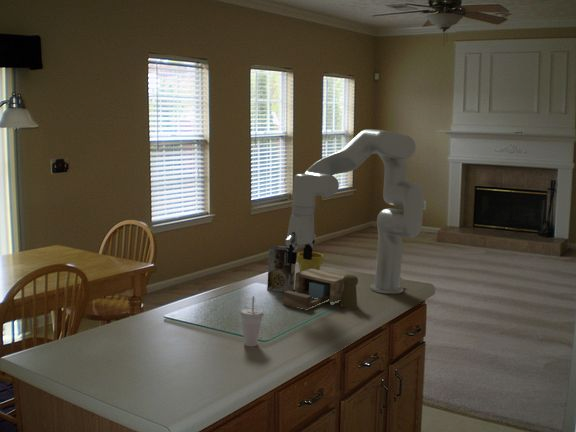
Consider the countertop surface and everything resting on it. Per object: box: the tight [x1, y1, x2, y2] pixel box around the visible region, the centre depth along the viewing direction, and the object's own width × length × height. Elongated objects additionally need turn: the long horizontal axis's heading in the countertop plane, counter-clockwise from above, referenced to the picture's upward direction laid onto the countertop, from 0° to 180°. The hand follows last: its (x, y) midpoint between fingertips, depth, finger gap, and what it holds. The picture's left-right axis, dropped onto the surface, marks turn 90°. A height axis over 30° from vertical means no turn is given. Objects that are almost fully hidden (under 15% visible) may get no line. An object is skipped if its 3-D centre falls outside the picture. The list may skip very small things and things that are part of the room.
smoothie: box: [240, 296, 264, 347], centre depth 184 cm, size 6×6×14 cm
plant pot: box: [296, 251, 324, 272], centre depth 264 cm, size 10×10×10 cm
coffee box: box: [266, 244, 296, 293], centre depth 243 cm, size 9×6×16 cm
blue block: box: [309, 280, 331, 299], centre depth 236 cm, size 6×6×6 cm
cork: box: [339, 274, 359, 310], centre depth 227 cm, size 6×6×11 cm
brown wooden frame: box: [282, 290, 330, 309], centre depth 231 cm, size 21×9×4 cm, turn 146°
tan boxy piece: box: [294, 269, 346, 303], centre depth 236 cm, size 10×16×8 cm, turn 56°
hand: (299, 261), depth 221 cm, fingers open, 9 cm apart
